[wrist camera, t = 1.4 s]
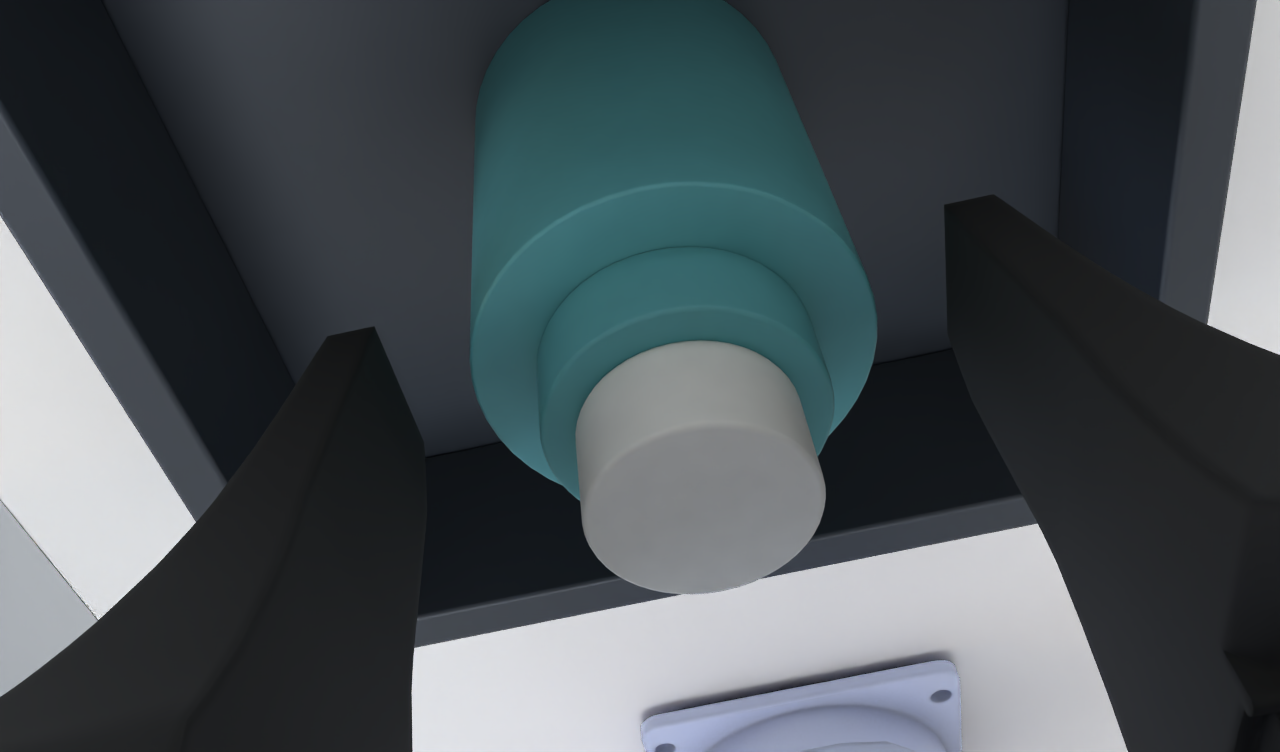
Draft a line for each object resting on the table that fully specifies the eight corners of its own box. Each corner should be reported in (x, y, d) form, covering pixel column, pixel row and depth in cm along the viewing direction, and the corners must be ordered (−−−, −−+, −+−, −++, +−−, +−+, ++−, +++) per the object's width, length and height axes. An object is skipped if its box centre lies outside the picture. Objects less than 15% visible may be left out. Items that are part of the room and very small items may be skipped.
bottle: (801, 224, 21) (945, 616, 14) (520, 284, 21) (533, 697, 14) (766, -59, 17) (933, 276, 11) (434, 15, 18) (401, 388, 11)
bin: (1085, 340, 23) (1183, 496, 20) (318, 499, 24) (290, 674, 21) (1144, -505, 15) (1333, -475, 11) (-61, -217, 15) (-211, -109, 12)
